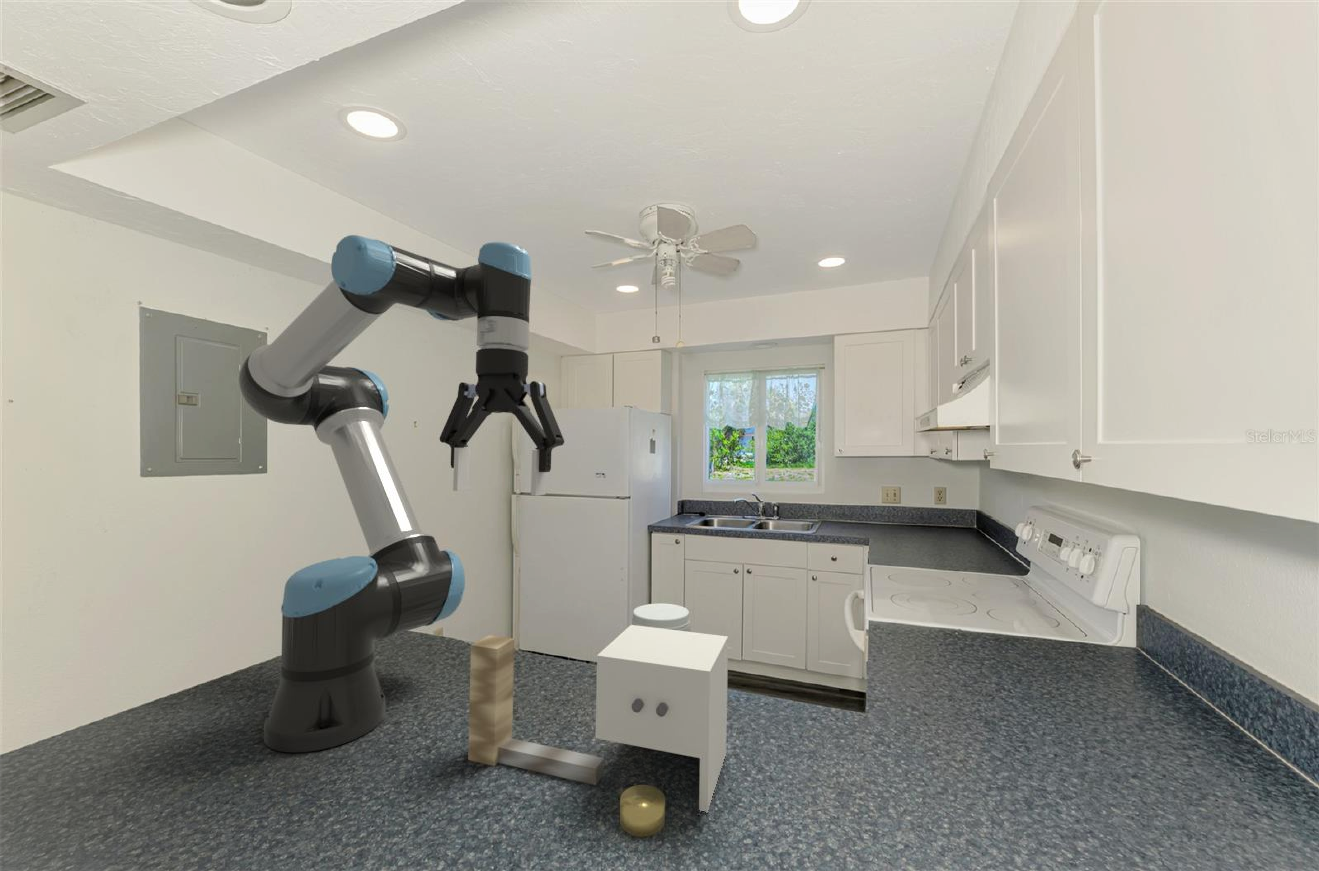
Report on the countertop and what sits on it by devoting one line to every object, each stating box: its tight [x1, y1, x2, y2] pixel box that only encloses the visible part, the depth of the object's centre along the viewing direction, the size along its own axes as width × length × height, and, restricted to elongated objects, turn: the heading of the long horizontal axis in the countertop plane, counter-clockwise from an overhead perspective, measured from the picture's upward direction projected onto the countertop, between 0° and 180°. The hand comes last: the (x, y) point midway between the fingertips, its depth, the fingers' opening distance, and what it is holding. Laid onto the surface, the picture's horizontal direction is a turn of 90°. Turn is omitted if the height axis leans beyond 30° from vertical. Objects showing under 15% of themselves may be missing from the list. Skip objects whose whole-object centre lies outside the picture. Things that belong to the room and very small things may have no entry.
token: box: [619, 784, 666, 838], centre depth 60 cm, size 5×5×2 cm
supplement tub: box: [631, 602, 691, 632], centre depth 88 cm, size 10×10×15 cm
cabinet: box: [595, 624, 729, 814], centre depth 69 cm, size 14×13×16 cm
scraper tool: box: [467, 634, 605, 786], centre depth 70 cm, size 18×4×15 cm, turn 72°
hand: (498, 492), depth 81 cm, fingers open, 13 cm apart
